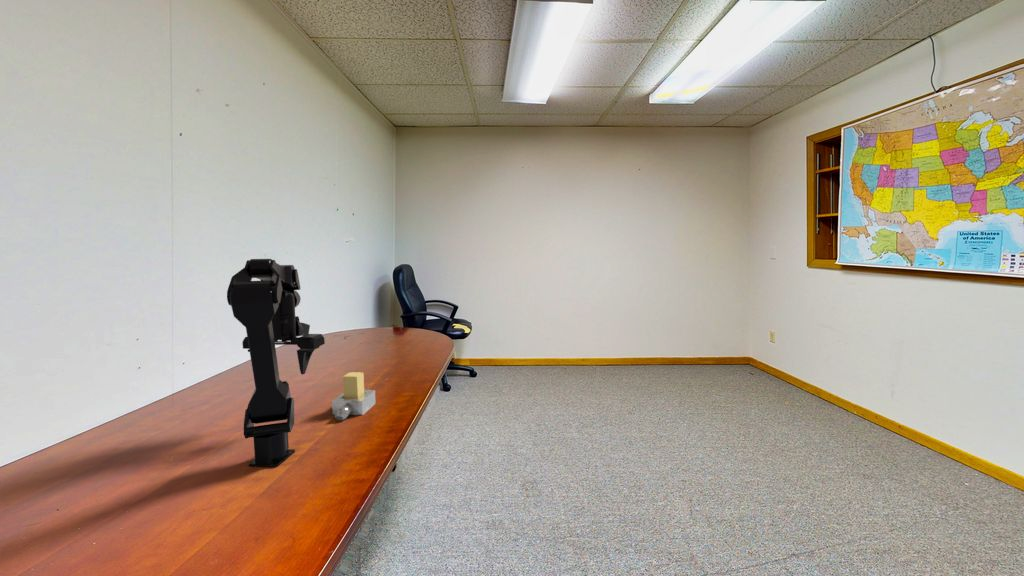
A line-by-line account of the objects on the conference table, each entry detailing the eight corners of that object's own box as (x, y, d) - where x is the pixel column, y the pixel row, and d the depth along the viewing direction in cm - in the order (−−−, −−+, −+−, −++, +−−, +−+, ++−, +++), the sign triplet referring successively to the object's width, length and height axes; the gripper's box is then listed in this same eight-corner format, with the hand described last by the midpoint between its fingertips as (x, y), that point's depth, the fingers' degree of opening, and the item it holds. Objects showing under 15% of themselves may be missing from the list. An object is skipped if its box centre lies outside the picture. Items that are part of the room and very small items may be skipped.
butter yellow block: (358, 411, 112) (356, 376, 111) (344, 411, 112) (342, 376, 111) (364, 406, 116) (363, 372, 115) (351, 406, 116) (349, 372, 115)
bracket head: (356, 421, 105) (355, 406, 105) (324, 420, 106) (324, 405, 106) (381, 398, 122) (380, 385, 122) (353, 398, 122) (353, 385, 122)
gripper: (333, 309, 110) (336, 365, 111) (268, 309, 111) (272, 365, 113) (310, 315, 99) (314, 378, 100) (238, 316, 100) (243, 377, 102)
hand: (286, 373), depth 104 cm, fingers open, 9 cm apart
